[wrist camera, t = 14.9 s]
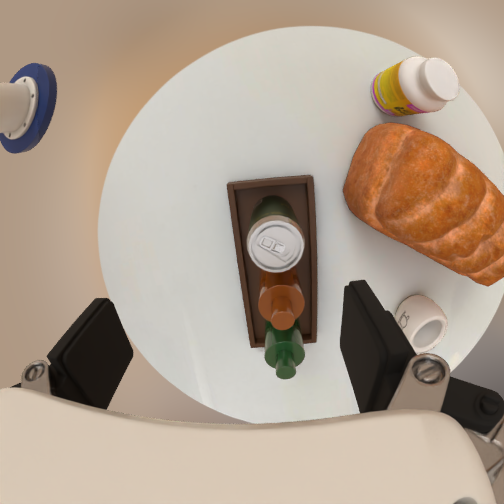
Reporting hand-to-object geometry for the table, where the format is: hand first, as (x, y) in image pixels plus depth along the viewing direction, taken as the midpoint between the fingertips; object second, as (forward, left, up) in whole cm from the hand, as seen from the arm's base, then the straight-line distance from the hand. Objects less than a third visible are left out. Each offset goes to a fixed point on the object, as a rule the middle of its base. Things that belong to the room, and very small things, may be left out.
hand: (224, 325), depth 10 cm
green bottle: (+2, -19, -26) cm, 32 cm away
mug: (+24, -23, -27) cm, 43 cm away
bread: (+25, -2, -27) cm, 37 cm away
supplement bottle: (+20, +13, -27) cm, 36 cm away
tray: (+2, -11, -27) cm, 29 cm away
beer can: (+2, -3, -27) cm, 27 cm away
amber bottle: (+2, -11, -26) cm, 28 cm away
